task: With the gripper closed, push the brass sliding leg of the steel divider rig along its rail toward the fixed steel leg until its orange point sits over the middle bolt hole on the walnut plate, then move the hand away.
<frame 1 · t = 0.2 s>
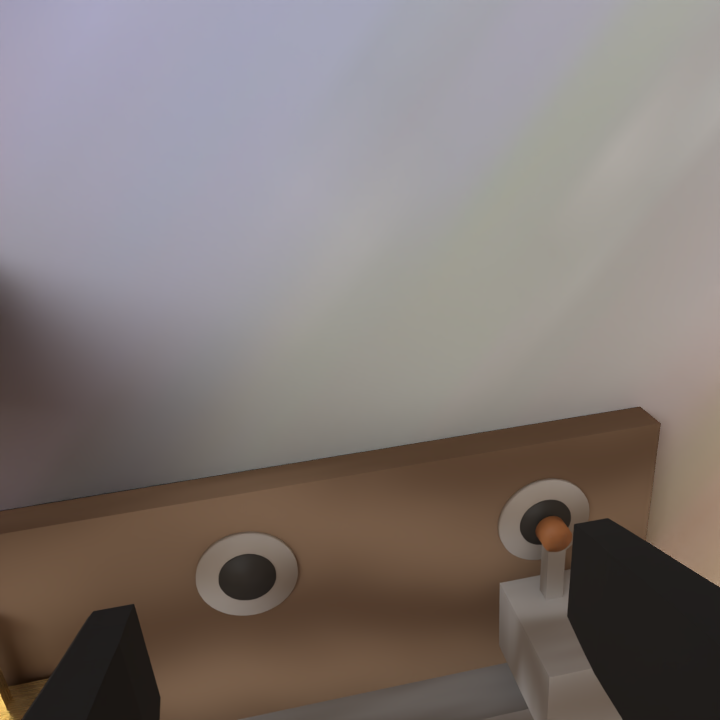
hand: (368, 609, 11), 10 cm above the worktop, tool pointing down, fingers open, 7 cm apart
hole plate: (285, 598, 23), on the worktop
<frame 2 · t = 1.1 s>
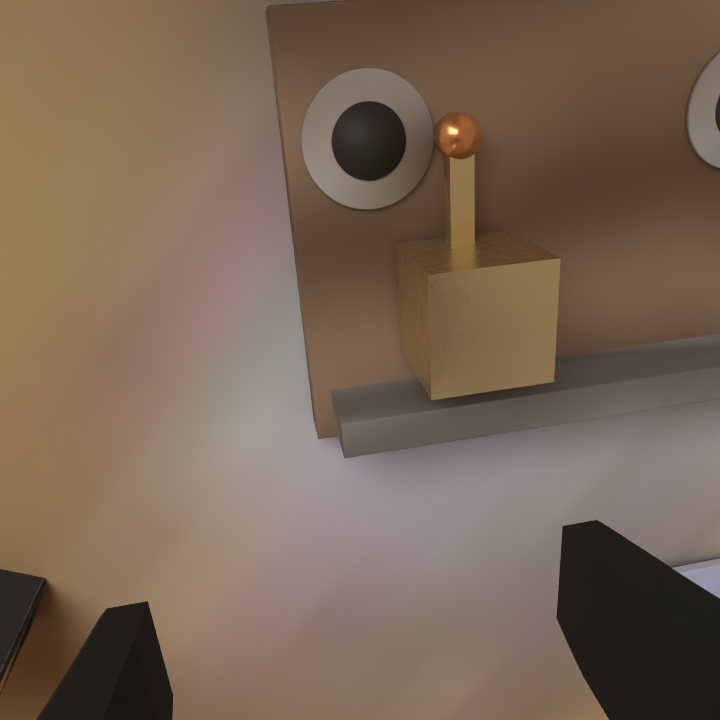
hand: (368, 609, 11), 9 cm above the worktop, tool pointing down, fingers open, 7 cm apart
sliding leg: (471, 250, 15), point 3 cm above the worktop, slide at 0.0 cm
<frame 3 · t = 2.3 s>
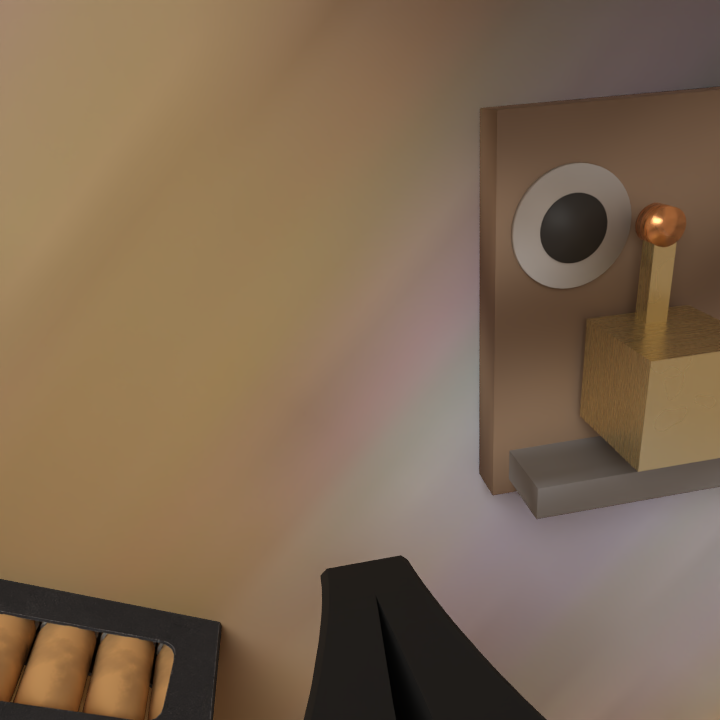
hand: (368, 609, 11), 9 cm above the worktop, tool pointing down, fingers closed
sliding leg: (671, 330, 16), point 3 cm above the worktop, slide at 0.0 cm
ammunition clip: (47, 607, 20), on the worktop
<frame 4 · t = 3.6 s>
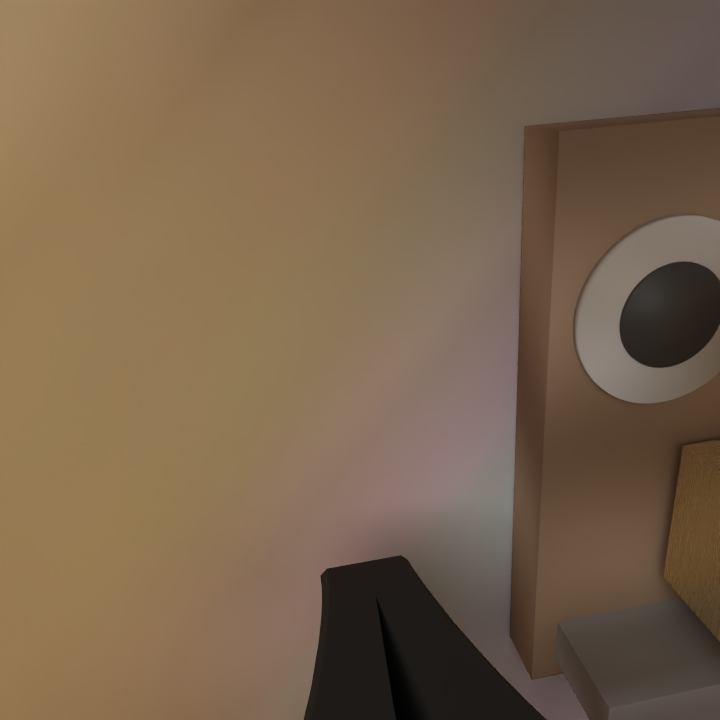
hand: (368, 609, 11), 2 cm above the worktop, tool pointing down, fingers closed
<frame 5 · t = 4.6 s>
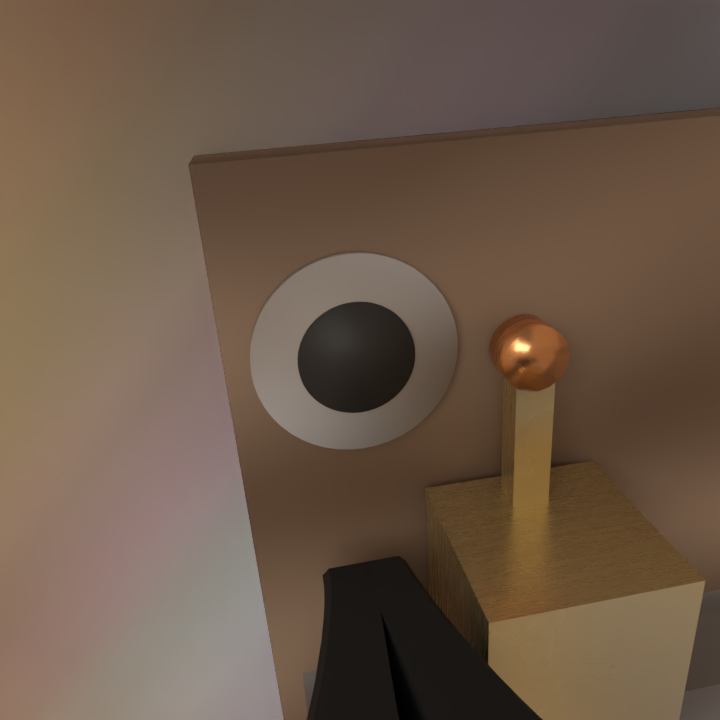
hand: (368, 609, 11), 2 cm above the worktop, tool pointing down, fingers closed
sliding leg: (548, 528, 10), point 3 cm above the worktop, slide at 0.5 cm, touching gripper
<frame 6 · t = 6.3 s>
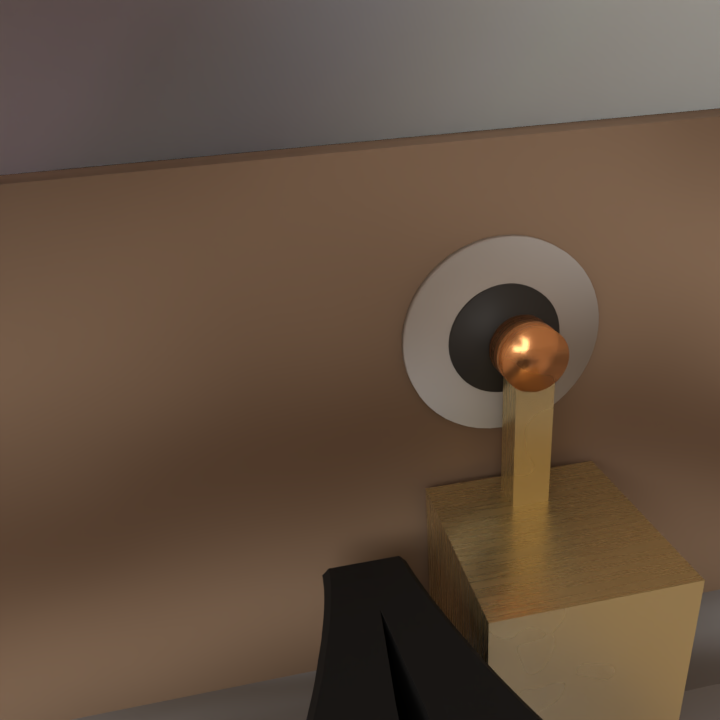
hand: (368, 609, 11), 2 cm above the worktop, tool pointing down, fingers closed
sliding leg: (548, 529, 10), point 3 cm above the worktop, slide at 8.1 cm, touching gripper
hole plate: (523, 425, 13), on the worktop
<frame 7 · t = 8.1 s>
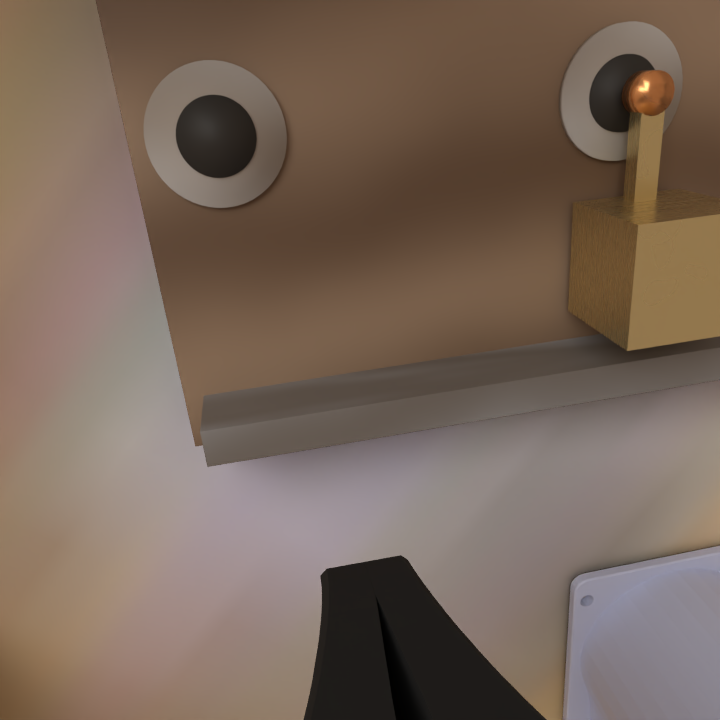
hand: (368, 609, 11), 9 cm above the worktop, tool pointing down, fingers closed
sliding leg: (660, 205, 16), point 3 cm above the worktop, slide at 8.3 cm
hole plate: (622, 184, 18), on the worktop
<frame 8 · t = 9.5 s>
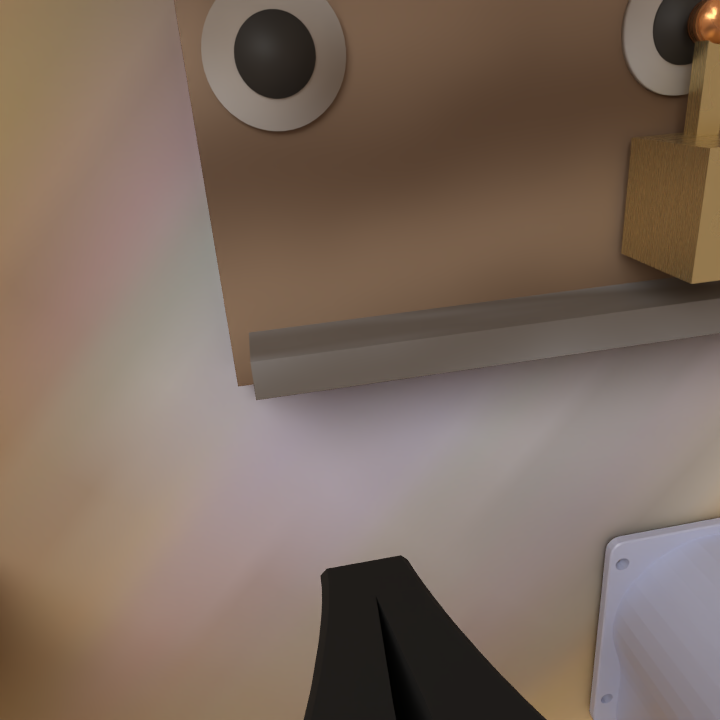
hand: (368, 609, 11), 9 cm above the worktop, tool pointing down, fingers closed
hole plate: (676, 126, 18), on the worktop
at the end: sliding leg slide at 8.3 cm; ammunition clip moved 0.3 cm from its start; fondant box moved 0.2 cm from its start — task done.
